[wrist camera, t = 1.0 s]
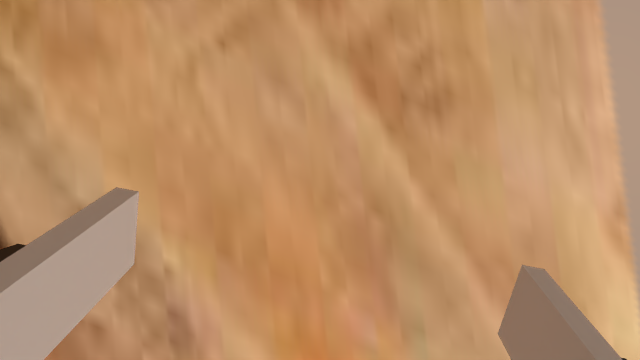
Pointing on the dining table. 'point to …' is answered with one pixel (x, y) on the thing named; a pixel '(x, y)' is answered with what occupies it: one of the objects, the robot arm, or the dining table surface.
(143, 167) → the dining table surface
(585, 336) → the robot arm
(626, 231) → the dining table surface
